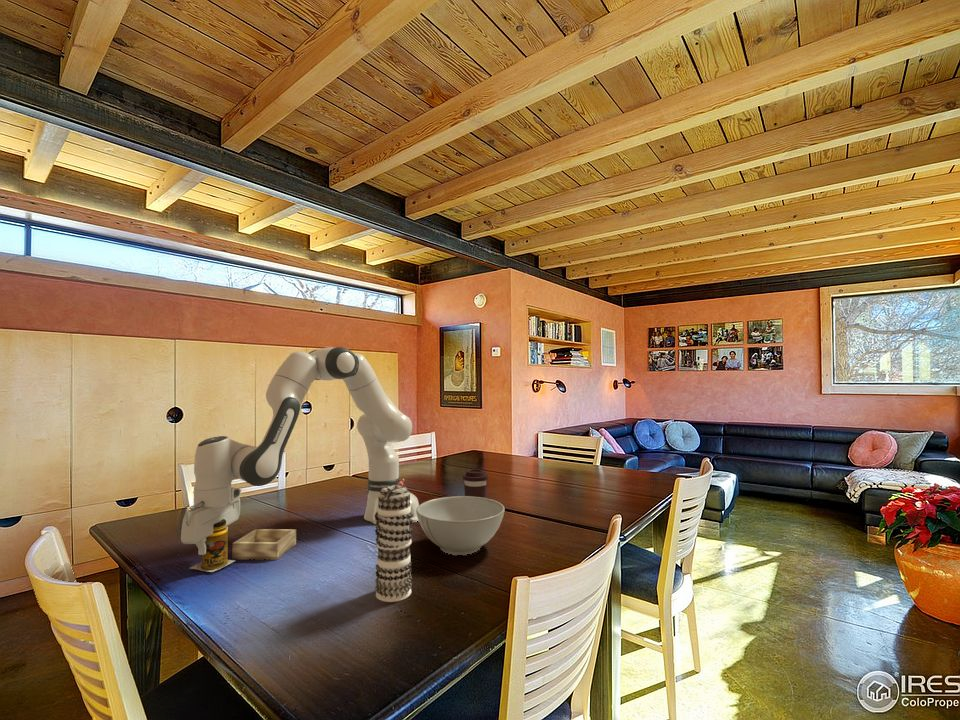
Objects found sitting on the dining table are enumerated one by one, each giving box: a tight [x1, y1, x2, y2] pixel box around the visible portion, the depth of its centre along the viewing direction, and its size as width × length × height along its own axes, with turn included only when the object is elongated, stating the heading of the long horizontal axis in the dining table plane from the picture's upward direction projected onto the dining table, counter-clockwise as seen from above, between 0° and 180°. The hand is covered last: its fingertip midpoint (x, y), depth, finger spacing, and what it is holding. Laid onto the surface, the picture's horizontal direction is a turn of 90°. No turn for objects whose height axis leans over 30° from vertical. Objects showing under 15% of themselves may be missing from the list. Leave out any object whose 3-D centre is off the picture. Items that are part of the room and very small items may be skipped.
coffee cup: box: [462, 468, 489, 498], centre depth 174 cm, size 10×10×15 cm
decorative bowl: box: [416, 495, 506, 556], centre depth 134 cm, size 27×27×12 cm
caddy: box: [231, 528, 297, 561], centre depth 131 cm, size 13×12×4 cm
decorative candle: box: [374, 485, 414, 603], centre depth 106 cm, size 9×9×25 cm
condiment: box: [189, 519, 235, 573], centre depth 120 cm, size 7×8×12 cm
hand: (212, 548), depth 120 cm, fingers closed on condiment, 6 cm apart
